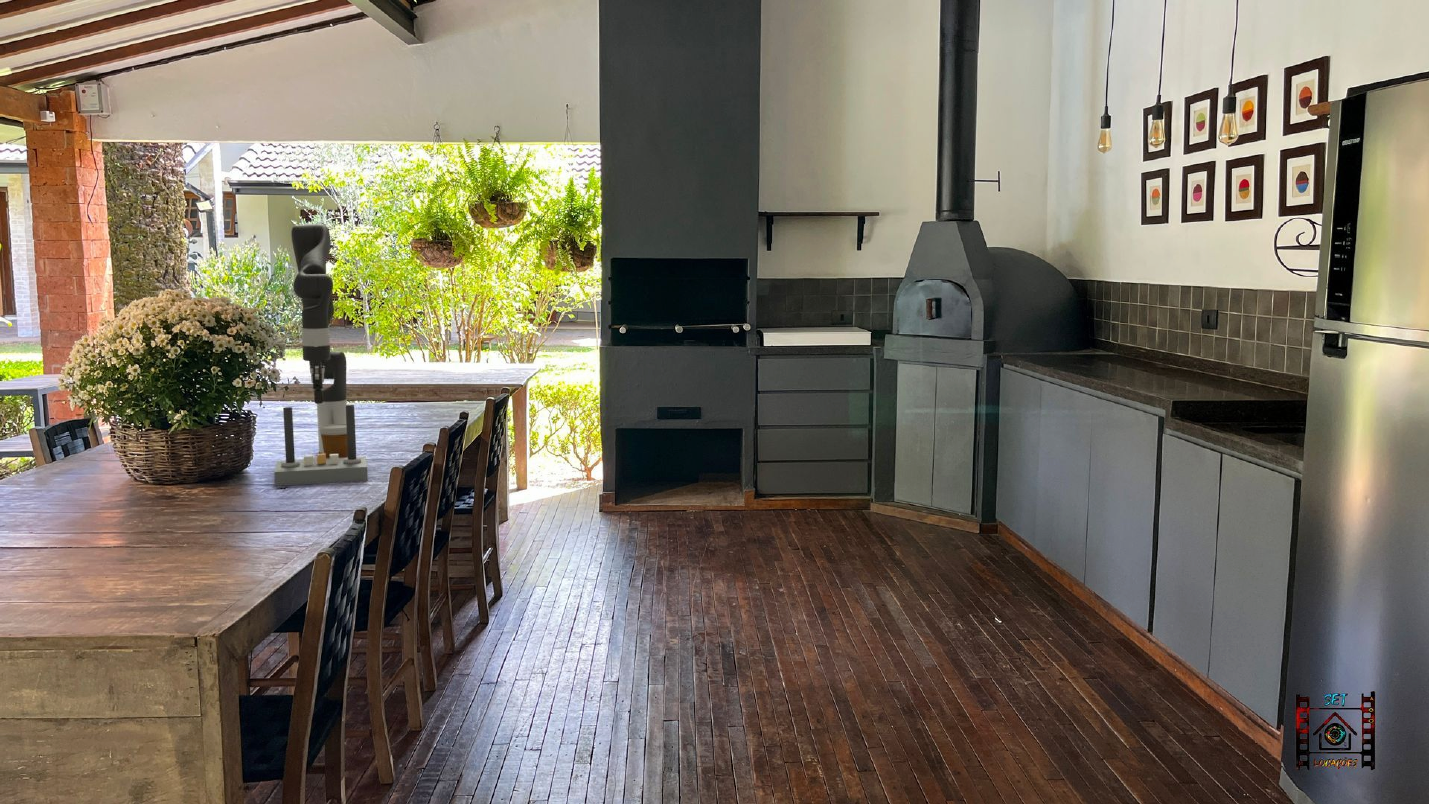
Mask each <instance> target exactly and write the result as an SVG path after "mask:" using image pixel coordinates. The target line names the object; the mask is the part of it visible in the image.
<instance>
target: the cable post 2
mask: <svg viewBox="0 0 1429 804" xmlns="http://www.w3.org/2000/svg"><path fill="white" fill-rule="evenodd" d="M355 412H356V411H355V405H354V404H347V405H346V427H347V450H348V458H345V459H343V463H345V464H357V463H360V462H361V458H359V457H360V456H357V439H356V438H357V437H356V418H355V414H356V413H355Z"/></svg>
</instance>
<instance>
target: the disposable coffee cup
mask: <svg viewBox="0 0 1429 804" xmlns="http://www.w3.org/2000/svg"><path fill="white" fill-rule="evenodd" d="M319 432H320V434H321V437H322V443H323V449H324V453H323V454H325V453H326V459H327V458H330V454H338V457H339V458H346V457H348V450H347V427H346V424H328V425H323V426H321V427H320V430H319Z"/></svg>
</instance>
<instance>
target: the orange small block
mask: <svg viewBox="0 0 1429 804" xmlns="http://www.w3.org/2000/svg"><path fill="white" fill-rule="evenodd" d="M316 459H317V464H323V463H326V453H325V454H324V453H316Z"/></svg>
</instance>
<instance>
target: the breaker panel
mask: <svg viewBox="0 0 1429 804" xmlns="http://www.w3.org/2000/svg"><path fill="white" fill-rule="evenodd" d="M358 457H359V458H361V462H360V463H357V464H345V463H343V459H345V458H339V457H338V454H330V458H327V459H326V463H323V464H317V458H314V454H310V455H308V454H307V455H304V456H303V459H295V461H300V466H297V467H281V462H284V461H285V460H277V461H276V465H275V468H274V472H273V474H274V475H273V476H274V487H278V486H279V487H281V486H294V485H295V486H296V485H310V484H311V485H313V484H329V483H345V482H362V481H365V482H366V481H368V462H367V456H358ZM346 458H348V457H346Z"/></svg>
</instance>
